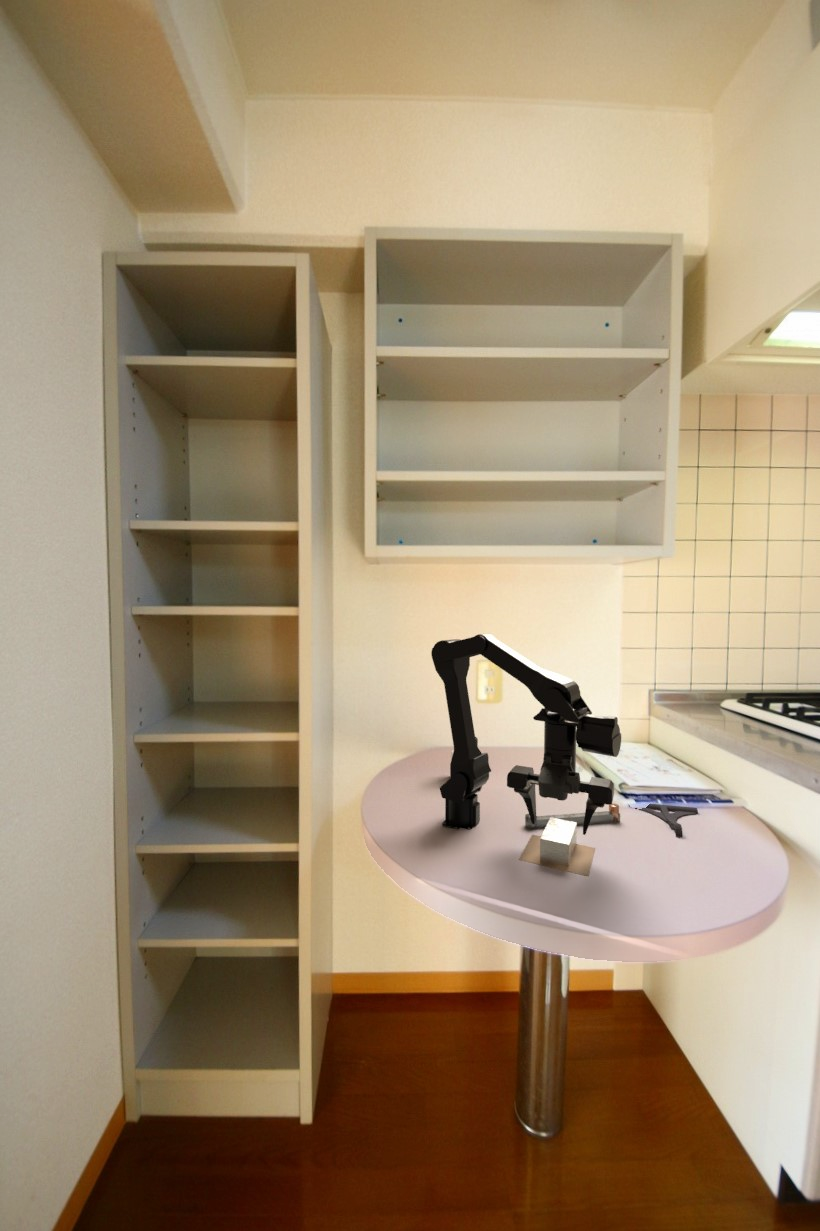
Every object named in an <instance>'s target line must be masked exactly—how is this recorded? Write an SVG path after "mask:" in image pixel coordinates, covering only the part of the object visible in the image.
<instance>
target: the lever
mask: <svg viewBox="0 0 820 1231" xmlns="http://www.w3.org/2000/svg"><path fill="white" fill-rule="evenodd" d="M524 815H525V816H524V820H525V822H524V826H525V828H526V829H528V830H536V829H545V828H546V826H547V824H548V822H549V820H550V817H551V818H557V819H562V820H567V821H572V822H577V826H580V825H581V826H583V824H584V817H585V812H579V813H578V812H577V813H566V814H565V813H564V814H552V815H551V814H550V815H536V823H535V825H534V824H532V821H531V818H530V815H529V813H526V814H524ZM620 822H621V813H620V805H619V804H616V803H612V804H610V805H608V810H607V811H605V810H604V811H595V812H594V814H593V816H592V818H591V820H590V823H589V825H592V824H593V825H594V824H607V823H608V824H609V823H620Z"/></svg>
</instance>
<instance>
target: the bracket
mask: <svg viewBox="0 0 820 1231" xmlns="http://www.w3.org/2000/svg"><path fill="white" fill-rule="evenodd" d="M638 811H641V812H645V813H647V814H650V815H652V816H655V817H657V818H659V819H661V820H662V821H664V822H665V823H667V825H668V826H669V828H670V829H671V830H670V831H674V833H675V837H680V838H681V837H683V828H682V824H681V823H679V822H677V821H678V819H679V818H683V817H686V816H695V815H698V814H699V811H698V808H697V807H690V806H681V805H673V804H659V803H650V804H649V805H648V806H647V807H646V808H642V809H639V810H638ZM659 811H660V812H659ZM670 812H671V813H670Z"/></svg>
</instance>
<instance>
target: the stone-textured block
mask: <svg viewBox="0 0 820 1231" xmlns="http://www.w3.org/2000/svg"><path fill="white" fill-rule="evenodd" d="M577 829H578V825H577V822H572V821H567V820H562V819H557V818H551V817H550V820H549V822H548V824H547V826H546V827H545V828H544V830H543V832H542V834H541V838H540V860H541V861H545V862H549V863H554V864H558V865H562V866H566V867H569V864H570V861H571V858H572V855H573V852H574V849H575V846H576V844H578V843H577V842H578V841H577V838H578V837H577V836H578V835H577V834H578V832H577V831H578V830H577Z"/></svg>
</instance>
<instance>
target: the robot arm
mask: <svg viewBox="0 0 820 1231" xmlns="http://www.w3.org/2000/svg"><path fill="white" fill-rule="evenodd" d="M430 653H431V654H430V655H431V659H432V663H433V666H434V669H435V671H436V673H437V675H438V676H439V677H440V679H441V681H442V682H443V685H444V686H443V687H444V691H445V699H446V704H447V711H448V717H449V718H448V719H449V725H450V731H451V737H452V744H453V745H452V746H453V750H454V752H453V756H452V759H451V758H450V765H449V772H450V773H449V774H450V775H449V779H448V780H447V781H446V782H445V783H443V784H441V786H440V787H439V791H440V796H441V798H442V799H444V800H445V804H444V805H445V806H444V807H445V809H444V810H445V815H444V816H445V817H444V820H443V821H442V822H441V823H442V824H441V825H442V826H443V827H448V828H453V829H457V830H460V829H463V830H472V829H473V828H474V827H476V826H477V825H478V824H479V822H480V821H481V820H480V819H481V803H480V802H479V801H478V800H479V799H478V798H479V797H478V795H479V794H477V793H478V792H481V790H482V788H483V786H484V785H486V784H487V782H488V780H489V779H490V773H491V772H492V768H491V767H490V763H489V753H488V752H483V753H482V751H481V749H479V746H478V747H477V745H476V739H475V737H476V734H475V727H474V720H473V715H472V708H471V703H470V695H469V690H468V684H467V677H468V672H469V670H470V666H471V663H470V662H471V659H470V658H471V657H475V656H476V657H477V656H479V655H481V656H482V657H483V658H485V659H486V660H488V661H489V662H491V663H492V664H494V665H495V666H497V667H498V668H499V669H501V670H503V671H504V672H506V673H507V674H508V675H510V676H512V677H513V678H514V679H515V680H517V681H519V682H520V683H521V684H523V685H524V686H525V687H527V688H528V690H529V692H530V693H531V695H532V696H533V698H534V699H535V700H536V701H537V702H539V704H541V706H543V707H542V708H541V709H540V711H539V712H538V713H537V714H535V715H534V716H533V717H532V718H533V720H534V721H538V722H544V728H543V729H544V730H543V732H544V735H543V737H544V739H543V740H544V742H543V744H544V745H543V761H542V764H541V767H540V772H539V774H537V773H534V772H535V770H534V768H533V767H532V766H531V767H530V766H524V765H517V764H516V765H515V766H513V767H512V768H511V769H510V771H508V773H507V776H506V787H508V788H511V789H513V792H515V793H518V794H519V795H520V796H521V797H522V799H523V802H524V803H525V807H526V808H527V811H528V814H529V815H530V818H531V821H532V824H534V825H535V823H536V816H537V800H536V798H537V797H536V786H538V793H539V794H538V795H539V796H540V797H542V798H545V799H546V798H550V799H556V800H558V801H562V802H563V801H566V800H567V799H568V794H570V795H573V794H576V795H578V794H579V793H585V794H587V800H586V802H585V803H586V804H585V812H584V813H585V817H584V824H583V825H582V835H584V836H586V834H587V831H588V828H589V825H590V824H589V823H590V820H591V818H592V816H593V814H594V812H596V810H597V809H598V808H602V809H603V808H604V807H605V805H608V806H609V805H610V804H613V800H614V795H615V783H614V782H613V780H612V779H609V778H602V777H596V776H591V778H590V780H589V781H583V780H581V774H580V772H576V770H577V769H576V767H577V764H576V762H577V747H578V748H581V751H582V752H586V753H591V754H598V755H603V756H607V757H613V758H617V757H618V756H619V755H620V754H619V753H620V751H621V746H622V745H621V744H622V733H621V729H620V725H619V723H618V722H619V721H618V717H617V716H611V715H608V716H603V715H597V714H593V712H592V710H591V709H590V707H589V706H588V705H587V703H586V702H585V700H584V698H583V697H582V696H581V690H580V686H579V684H578V683H577V682H576V681H575V680H573V679H572V678H569V677H566V676H565V675H561V674H560V673H557V672H553V671H550V670H547V669H544V668H542V667H539V666H538V665H537V664H535V663H534V662H532V661H531V660H529V659H528V658H527V657H524V656H523V655H522V654H520V653H518V652H517V651H515V650H514V649H512V648H511V647H509V646H508V645H506V644H505V643H503V642H501V640H498V639H497V638H496V637H495V636H494V635H493V634H490V633H480V634H479V633H478V634H477V635H475V636H472V637H467V638H464V639H458V638H456V639H445V640H439V641H437V642H436V643H435V644H434V645H433V647H432V648H431V652H430Z"/></svg>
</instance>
